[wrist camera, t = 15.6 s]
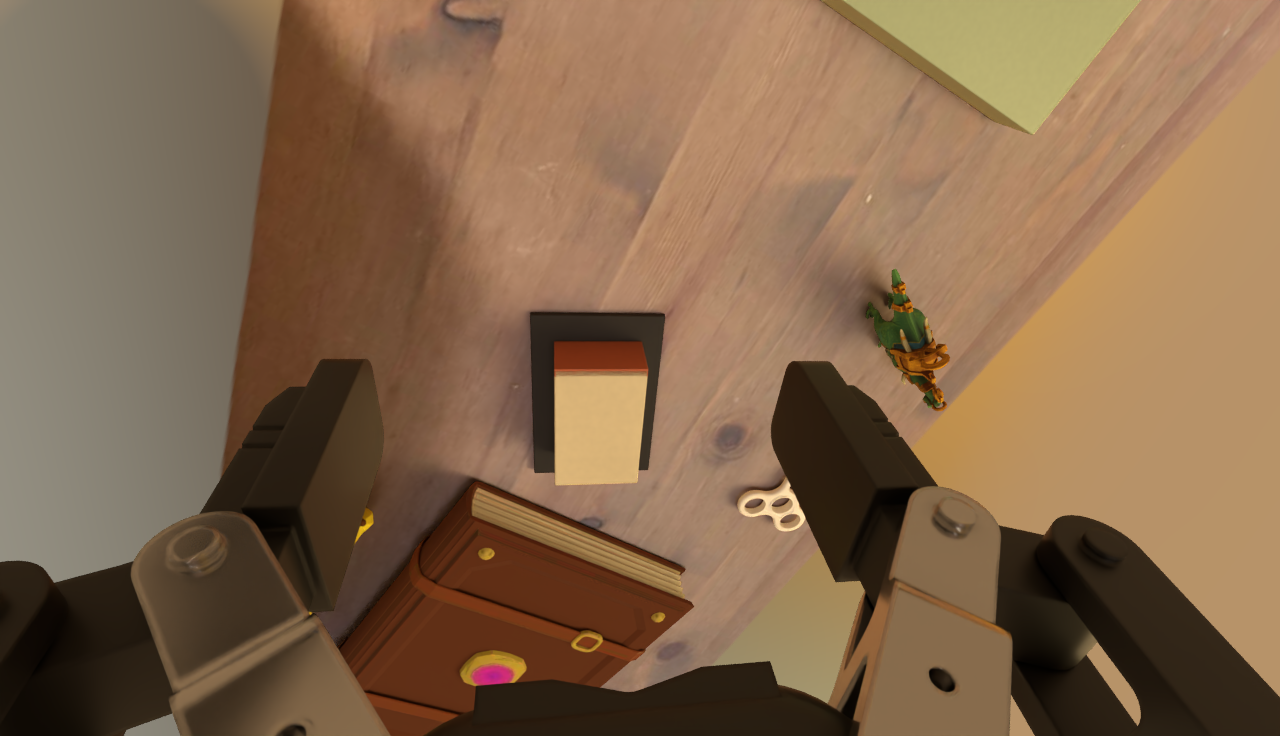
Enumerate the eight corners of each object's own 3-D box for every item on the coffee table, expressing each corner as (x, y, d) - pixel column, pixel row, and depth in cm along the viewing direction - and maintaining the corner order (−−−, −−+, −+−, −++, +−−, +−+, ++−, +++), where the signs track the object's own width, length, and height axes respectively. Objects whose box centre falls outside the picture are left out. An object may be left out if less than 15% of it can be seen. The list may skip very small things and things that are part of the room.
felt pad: (530, 312, 40) (530, 315, 39) (664, 313, 41) (665, 316, 41) (534, 469, 47) (534, 473, 47) (647, 466, 49) (648, 470, 48)
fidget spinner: (729, 505, 52) (732, 512, 51) (778, 455, 50) (781, 461, 49) (788, 530, 55) (791, 536, 54) (837, 484, 52) (840, 490, 52)
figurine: (881, 376, 46) (936, 446, 40) (838, 249, 40) (895, 307, 33) (919, 359, 46) (982, 426, 39) (882, 227, 39) (950, 281, 33)
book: (687, 567, 56) (697, 614, 52) (510, 727, 68) (507, 776, 64) (467, 474, 47) (458, 523, 43) (305, 678, 59) (287, 732, 55)
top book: (554, 340, 41) (554, 369, 38) (642, 341, 42) (648, 369, 39) (554, 453, 46) (554, 485, 43) (632, 451, 47) (637, 483, 44)
